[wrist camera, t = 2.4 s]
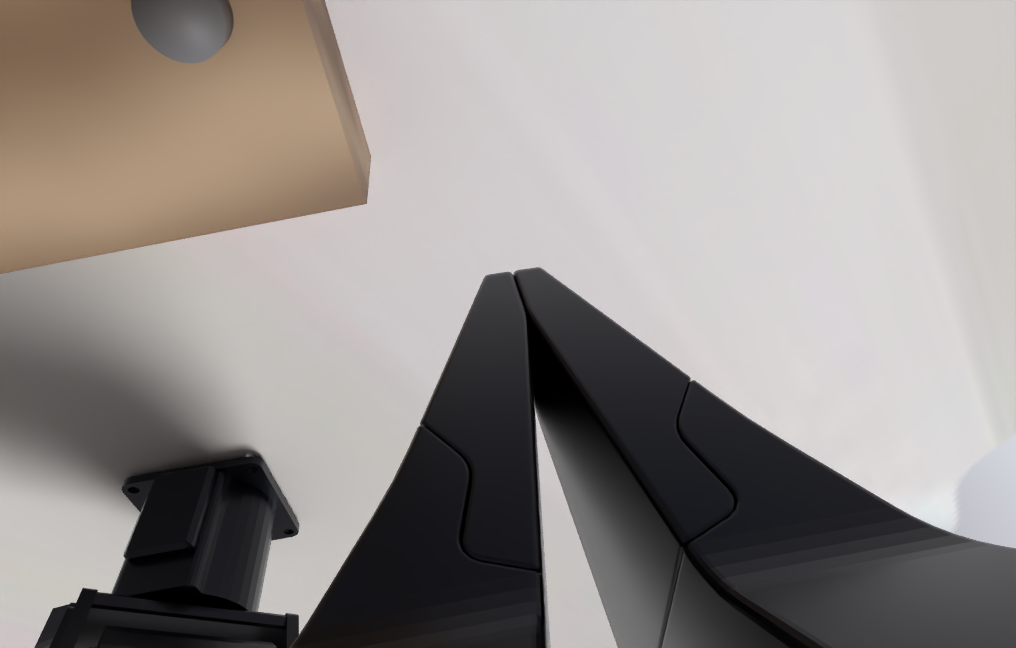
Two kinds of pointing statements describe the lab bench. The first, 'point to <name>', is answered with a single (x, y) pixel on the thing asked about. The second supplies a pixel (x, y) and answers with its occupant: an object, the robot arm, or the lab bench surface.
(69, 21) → the door panel
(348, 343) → the lab bench surface
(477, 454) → the robot arm
